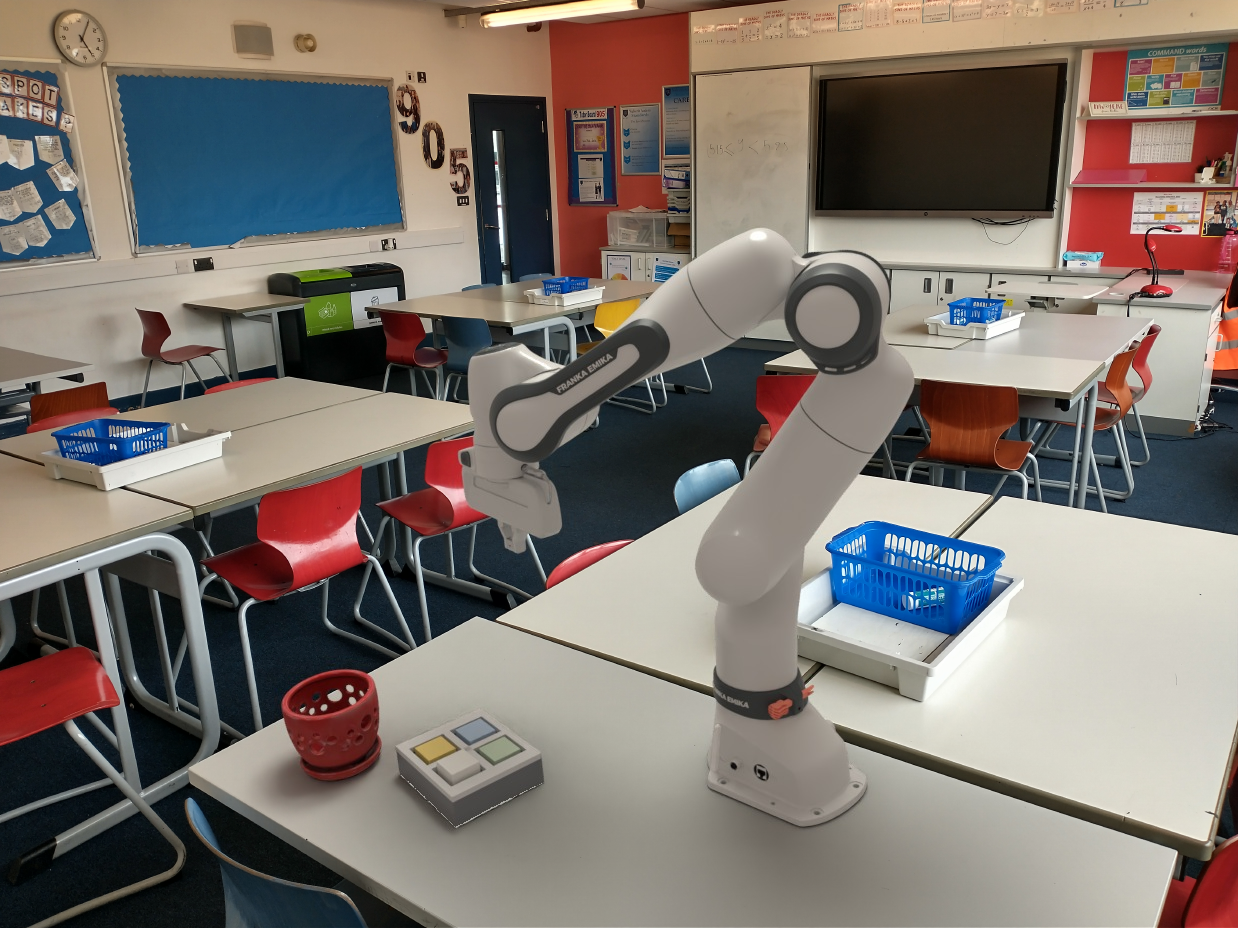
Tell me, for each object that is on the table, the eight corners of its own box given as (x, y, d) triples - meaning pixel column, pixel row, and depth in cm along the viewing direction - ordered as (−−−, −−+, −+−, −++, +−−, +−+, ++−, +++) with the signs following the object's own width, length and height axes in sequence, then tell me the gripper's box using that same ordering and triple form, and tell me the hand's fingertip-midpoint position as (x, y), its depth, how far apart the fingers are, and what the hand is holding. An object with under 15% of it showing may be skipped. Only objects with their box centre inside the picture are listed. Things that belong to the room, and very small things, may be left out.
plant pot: (316, 737, 146) (303, 667, 143) (398, 737, 145) (388, 667, 141) (278, 789, 134) (264, 715, 130) (367, 791, 132) (356, 715, 129)
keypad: (544, 782, 132) (541, 752, 130) (456, 828, 123) (452, 797, 122) (483, 735, 144) (480, 708, 142) (399, 774, 135) (395, 745, 134)
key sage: (522, 764, 132) (520, 748, 131) (496, 777, 129) (494, 761, 129) (505, 752, 135) (504, 736, 134) (480, 764, 133) (478, 748, 132)
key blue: (497, 745, 137) (495, 729, 136) (472, 757, 134) (470, 741, 134) (481, 733, 140) (480, 718, 139) (457, 745, 137) (455, 729, 137)
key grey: (481, 778, 128) (479, 761, 127) (454, 791, 125) (451, 774, 124) (465, 764, 131) (463, 748, 130) (438, 777, 128) (436, 761, 128)
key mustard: (457, 764, 133) (455, 748, 132) (431, 776, 130) (429, 760, 130) (443, 751, 136) (441, 735, 135) (416, 763, 134) (414, 747, 133)
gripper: (568, 467, 127) (575, 563, 131) (488, 441, 142) (496, 527, 146) (529, 478, 123) (538, 576, 127) (451, 450, 139) (461, 538, 143)
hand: (515, 549), depth 137 cm, fingers closed
